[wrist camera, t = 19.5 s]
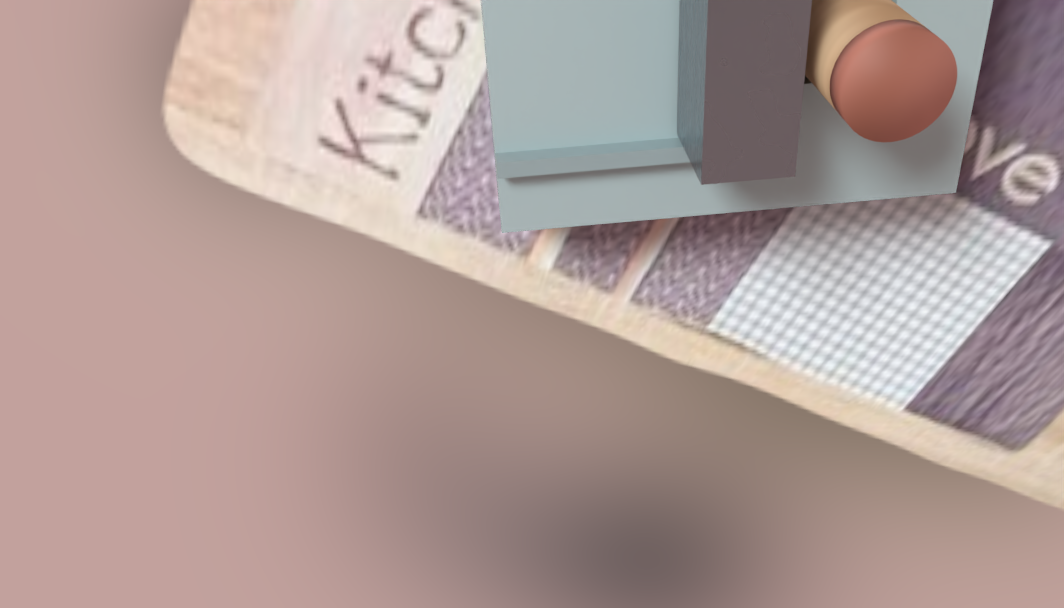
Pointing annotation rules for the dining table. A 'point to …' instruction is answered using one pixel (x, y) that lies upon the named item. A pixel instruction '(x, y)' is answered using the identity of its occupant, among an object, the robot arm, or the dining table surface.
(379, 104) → the dining table surface
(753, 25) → the bar
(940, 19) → the block
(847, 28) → the pin
